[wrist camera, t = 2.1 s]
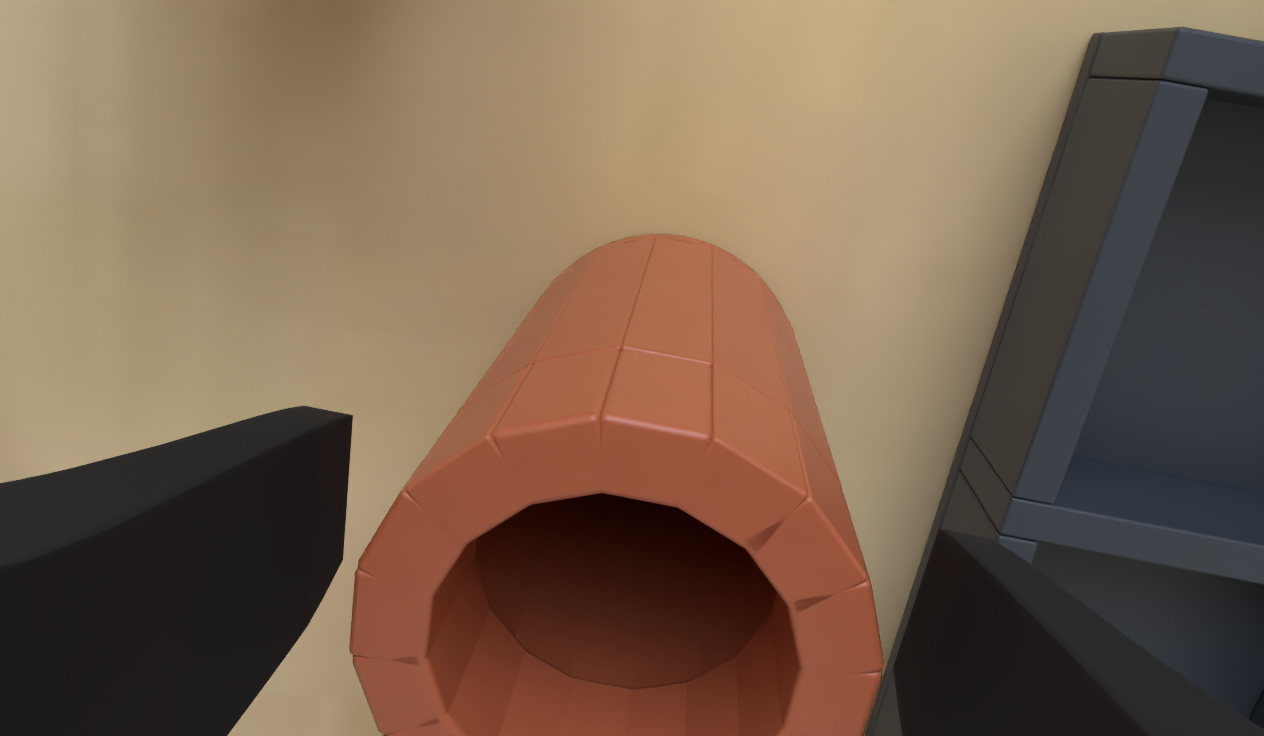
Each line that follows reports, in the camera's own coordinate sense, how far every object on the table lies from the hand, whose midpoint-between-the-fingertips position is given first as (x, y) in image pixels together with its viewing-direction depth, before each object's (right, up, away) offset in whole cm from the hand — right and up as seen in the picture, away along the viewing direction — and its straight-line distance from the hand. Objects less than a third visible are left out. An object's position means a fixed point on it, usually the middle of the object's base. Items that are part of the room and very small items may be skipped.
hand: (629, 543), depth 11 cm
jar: (+1, +2, +6) cm, 7 cm away
